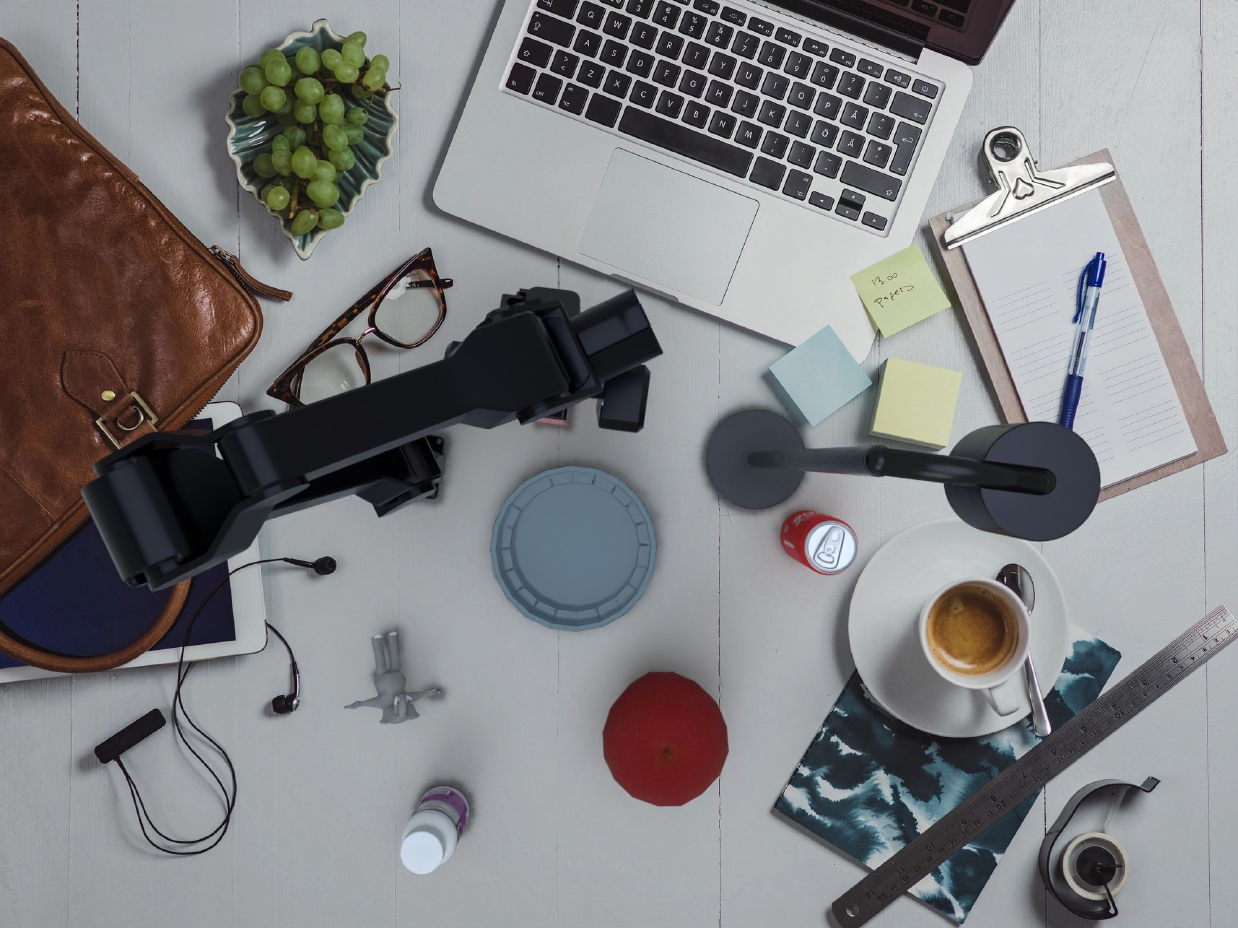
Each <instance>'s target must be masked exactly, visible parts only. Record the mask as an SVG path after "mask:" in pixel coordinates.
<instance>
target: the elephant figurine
mask: <svg viewBox="0 0 1238 928" xmlns="http://www.w3.org/2000/svg"><path fill="white" fill-rule="evenodd" d="M385 637H386V643H387V649H388V650H387V651H388V657H389V666H390V667H389V668H388V667H387V660H386V654H385V648H384V641H383V635H382V634H376V635H374V636H372V637H371V638H370V641H371V646H372V650H373V655H374V663H375V676H374V680H373V686H374V688H375V691H376V693H377V696H374V697H371V698H368V699H365V700H355V701H354V702H353V703H351V704H347V705H344V706H343V709H344V710H347V709H349V710H356V709H358V708H359V707H367V708H368V707H369V708H375V709H376V708H377V709H380V710H382V717H381V719H380V720H379V724H381V725H388V724H390V725H397V724H402V723H404V722H406V721H409V720H410V721H411V720H416V719H418V718H419V717H420V716H421V714H420V713H418V711H417V709H416V707H415V705H414V704H413V703H414V702H417V701H419V700H421V699H423V698H430V697H433V696H435V695H439V694H441V690H437V689H436V688H434V689H433V688H432V689H428V690H424V691H410V692H409V691H406V684H407V678H406V676H405V674H404V673H403V672H402V662H401V656H400V652H399V644H398V643H399V642H398V632H397V631H392V632H389V633H388V634H386V635H385Z"/></svg>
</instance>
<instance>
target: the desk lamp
mask: <svg viewBox="0 0 1238 928" xmlns="http://www.w3.org/2000/svg"><path fill="white" fill-rule="evenodd" d="M704 460H705V468H706V474H707V475H708V478H709V481H710V483H711V485H712V486H713V488H714V490H716V492H717V493H718V494H719V495H720V496H721V497H723V499H725V500H727V501H728V502H729V503H731V504H733V505H735V506H738V507H741V508H744V509H749V510H763V509H768V508H772V507H774V506H775V507H776V506H777V505H779V504H781V503H783V502H784V501H786V500H787V499H788V498H789V497H791V496H792V495H793V494H794V493H795V491H796V490H797V489H798V487H799V486H800V484H801V482H802V480H803V478H804V475H805V472H809V473H821V474H833V475H834V474H835V475H846V476H847V475H848V476H860V477H870V478H871V477H872V478H883V477H889V478H890V477H891V478H897V479H906V480H914V481H921V482H922V481H923V482H930V483H937V484H943V490H944V494H945V497H946V500H947V502H948V504H949V506H950V507H951V509H952V510H953V512H954V513H955V514H956V516H957V517H958V518H959V519H960V520H962V521H963V523H965V524H967V525H969V527H972V528H974V529H976V530H978V531H981V532H986V533H990V534H994V535H999V536H1004V537H1009V538H1014V539H1019V540H1023V541H1028V542H1035V543H1036V542H1037V543H1043V542H1051V541H1055V540H1059V539H1062V538H1064V537H1067V536H1068V535H1070V534H1072V533H1073V532H1075V531H1076V530H1078V529H1079V528H1080V527H1081V526H1083V524H1085V522H1086V521H1087V520H1088V519H1089V518H1090V516H1091V515H1092V513H1093V512H1094V510H1095V508H1096V506H1097V503H1098V502H1099V501H1098V500H1099V497H1100V493H1101V483H1102V479H1101V469H1100V465H1099V462H1098V460H1097V457H1096V455H1095V453H1094V451H1093V449H1092V448H1091V446H1090V445H1089V444H1088V443H1087V442H1086V441H1085V439H1084V438H1083V437H1082V436H1080V435H1079V434H1078V433H1077V432H1075V431H1074V430H1073V429H1071V428H1069V427H1067V426H1064V425H1063V424H1060V423H1056V422H1052V421H1044V420H1043V421H1042V420H1037V421H1023V422H1014V423H1013V422H1012V423H1003V424H1002V423H1000V424H992V425H991V424H990V425H986V426H982V427H979V428H976V429H974V430H973V431H970V432H969V433H967V434H965V435H964V436H963V437H962V438H960V439H959V440H958V442H956V443H955V445H954V446H953V448H952V449H951V451H950V452H949V454H948V455H947V454H940V453H930V452H923V451H915V450H907V449H900V448H899V449H898V448H891V447H888V446H886V445H883V444H872V445H855V446H837V447H816V448H814V447H813V448H806V447H805V444H804V441H803V438H802V437H801V434H800V433H799V432H798V430H797V428H795V426H794V425H793V424H792V423H791V422H790V421H789V420H787V419H786V418H785V417H783V416H782V415H780V414H777V413H775V412H773V411H769V410H764V409H748V410H744V411H741V412H738V413H735V414H733V415H731V416H729V417H728V418H726V419H724V420H723V421H722V422H721V423H720V424H719V425H718V426H717V427H716V428H715V430H714V431H713V433H712V435H711V436H710V438H709V440H708V443H707V446H706V450H705V459H704Z"/></svg>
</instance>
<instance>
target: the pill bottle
mask: <svg viewBox="0 0 1238 928" xmlns="http://www.w3.org/2000/svg"><path fill="white" fill-rule="evenodd" d="M469 817H470V806H469V803H468V800H467V799H466V797H465V795H463V793H462V792H460V791H459V790H458V789H456V788H454V787H451V786H448V785H440V786H437V787H433V788H431V789H429V790H428V791H427V792H426V793H424V794H423V796H422V797H421V799H420V800H419V802H418V803H417V805H416V807H415V808H414V810H413V811H412V813H411V815H410V817H409V818H408V819H407V821H406V823H405V824H404V826H403V828H402V832H401V838H400V852H399V855H400V860H401V862H402V864H403V866H404V867H405V868H406V869H407V870H408V871H410V872H411V873H414V874H417V875H426V874H429V873H432V872H433V871H435V870H436V869H437V868H438V867H439V866H441V865H443V864H444V863H445V862H447V861H448V860H449V859H450V858H451V857H452V855H453V854H454V853H455V850H456V849H457V846H458V843H459V842H460V839H461V837H462V835H463V833H464V830H465V829H466V826H467V824H468V822H469Z"/></svg>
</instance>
